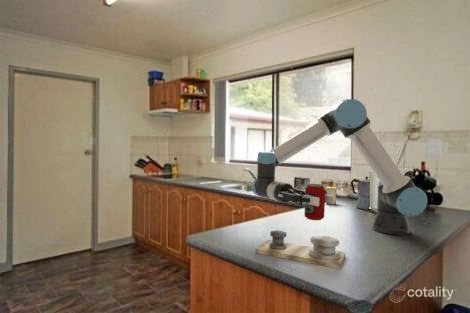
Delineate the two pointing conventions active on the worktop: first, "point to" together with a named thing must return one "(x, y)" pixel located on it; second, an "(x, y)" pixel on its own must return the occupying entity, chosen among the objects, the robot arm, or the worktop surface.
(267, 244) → the wooden knob board
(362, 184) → the moka pot
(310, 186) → the beverage can
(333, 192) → the supplement box
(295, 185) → the coffee box
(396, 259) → the worktop surface
